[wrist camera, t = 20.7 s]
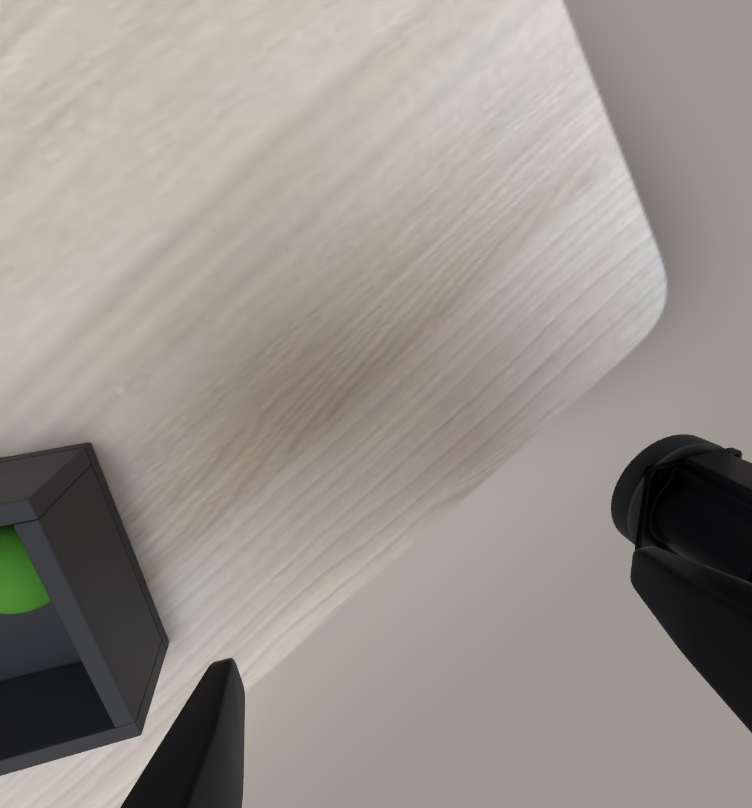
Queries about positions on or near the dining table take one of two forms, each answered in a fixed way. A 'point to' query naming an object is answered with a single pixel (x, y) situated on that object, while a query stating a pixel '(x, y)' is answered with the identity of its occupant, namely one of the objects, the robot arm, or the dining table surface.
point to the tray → (73, 616)
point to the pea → (18, 576)
